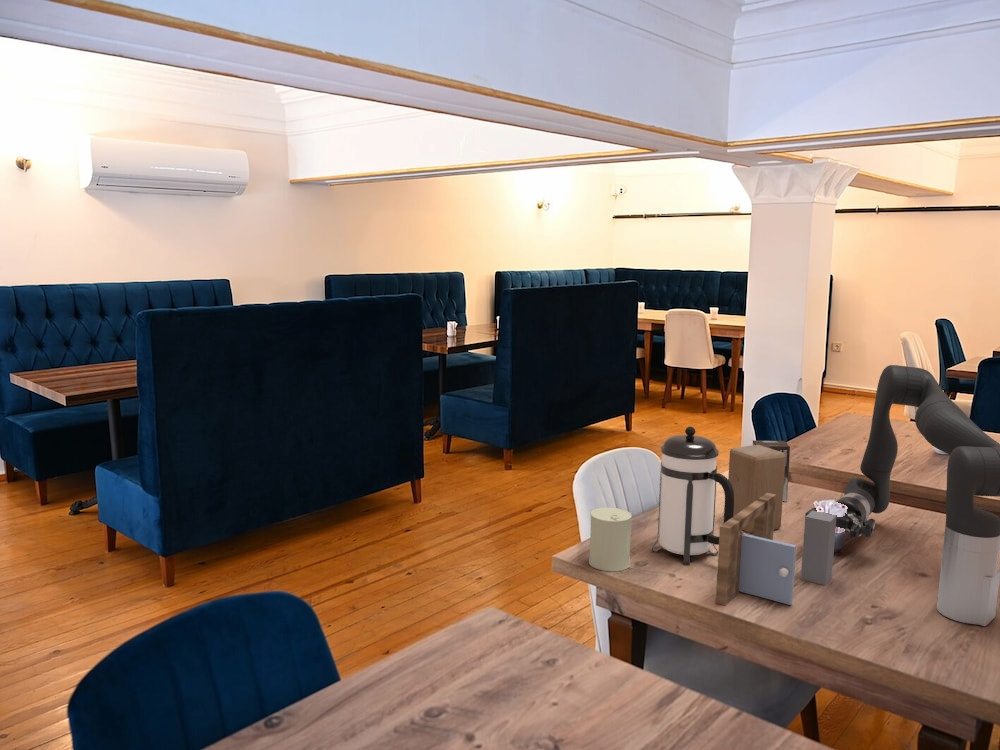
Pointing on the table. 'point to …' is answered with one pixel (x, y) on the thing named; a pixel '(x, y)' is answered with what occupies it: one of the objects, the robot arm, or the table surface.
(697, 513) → the coffee press
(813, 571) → the grey rectangular block
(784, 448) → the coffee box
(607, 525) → the can
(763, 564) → the door
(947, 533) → the robot arm
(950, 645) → the table surface
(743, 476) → the wooden block
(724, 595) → the door frame
